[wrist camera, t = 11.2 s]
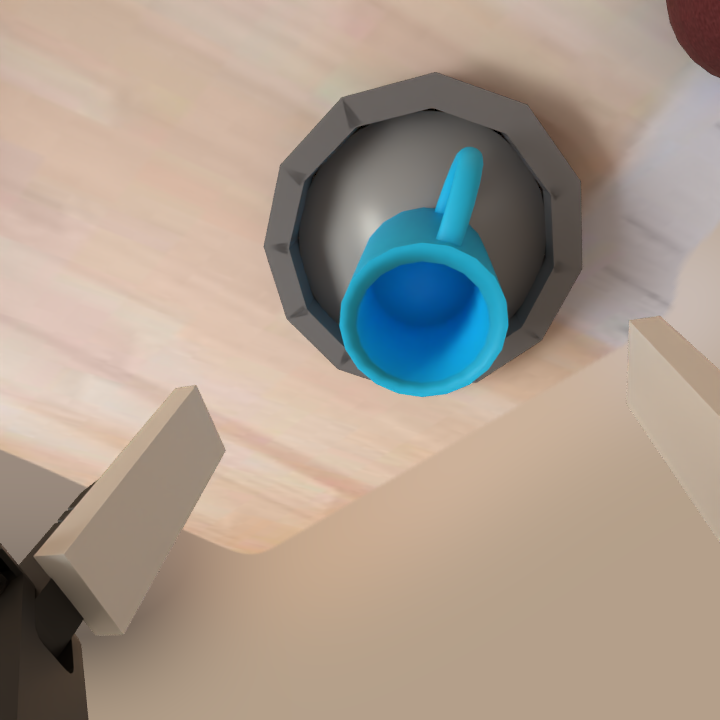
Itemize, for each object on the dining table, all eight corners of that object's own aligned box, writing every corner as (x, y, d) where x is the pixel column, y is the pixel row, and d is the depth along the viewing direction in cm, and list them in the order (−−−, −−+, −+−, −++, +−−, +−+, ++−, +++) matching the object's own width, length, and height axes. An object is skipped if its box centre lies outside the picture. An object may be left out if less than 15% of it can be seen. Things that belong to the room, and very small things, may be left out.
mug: (462, 345, 32) (471, 414, 25) (346, 312, 32) (323, 372, 25) (537, 162, 26) (578, 183, 19) (396, 120, 26) (385, 127, 19)
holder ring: (320, 384, 36) (313, 402, 34) (241, 126, 28) (225, 128, 26) (573, 350, 32) (583, 368, 30) (564, 39, 24) (578, 33, 22)
